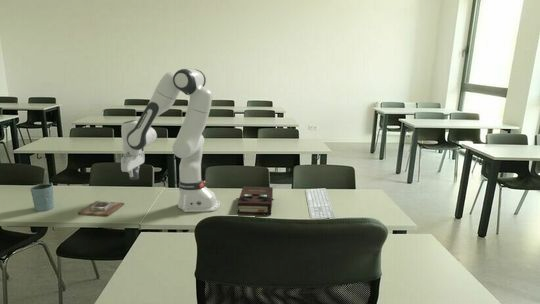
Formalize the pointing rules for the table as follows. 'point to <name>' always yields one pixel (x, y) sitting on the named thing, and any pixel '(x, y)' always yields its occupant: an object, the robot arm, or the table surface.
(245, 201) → the decorative book
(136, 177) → the black cap
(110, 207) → the board
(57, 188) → the table surface
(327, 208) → the keyboard
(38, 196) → the blue cup
